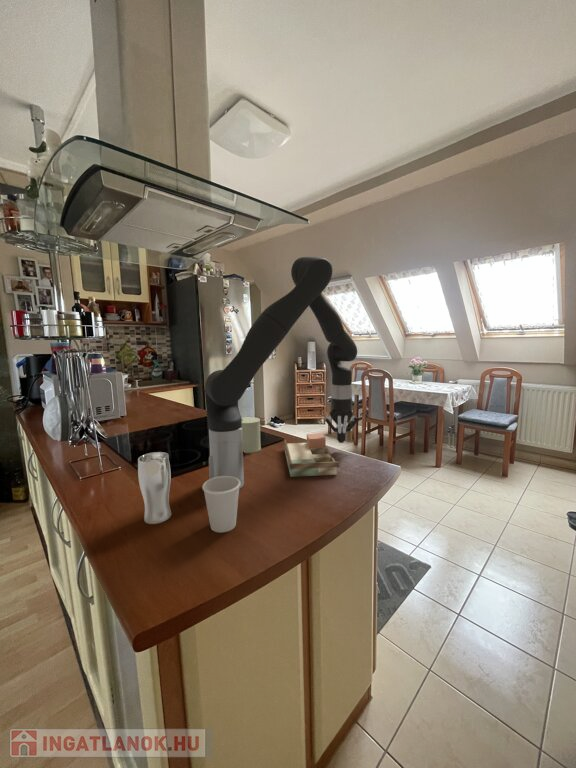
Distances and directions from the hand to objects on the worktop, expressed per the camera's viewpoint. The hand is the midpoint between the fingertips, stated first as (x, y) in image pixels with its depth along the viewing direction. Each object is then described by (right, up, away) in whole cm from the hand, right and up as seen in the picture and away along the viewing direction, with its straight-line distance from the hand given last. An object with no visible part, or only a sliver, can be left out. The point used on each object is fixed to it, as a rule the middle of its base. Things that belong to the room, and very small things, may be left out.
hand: (341, 442), depth 118 cm
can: (-35, -4, +3) cm, 35 cm away
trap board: (-13, -5, -9) cm, 16 cm away
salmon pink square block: (-9, -1, -1) cm, 10 cm away
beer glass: (-51, -10, -43) cm, 67 cm away
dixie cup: (-35, -11, -46) cm, 59 cm away
